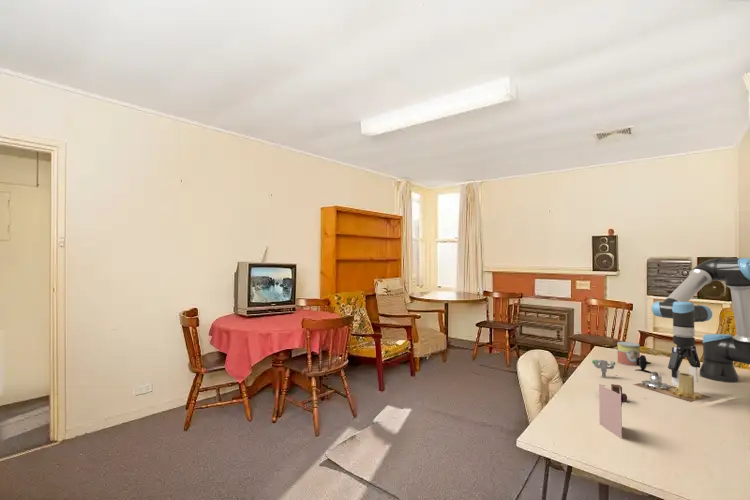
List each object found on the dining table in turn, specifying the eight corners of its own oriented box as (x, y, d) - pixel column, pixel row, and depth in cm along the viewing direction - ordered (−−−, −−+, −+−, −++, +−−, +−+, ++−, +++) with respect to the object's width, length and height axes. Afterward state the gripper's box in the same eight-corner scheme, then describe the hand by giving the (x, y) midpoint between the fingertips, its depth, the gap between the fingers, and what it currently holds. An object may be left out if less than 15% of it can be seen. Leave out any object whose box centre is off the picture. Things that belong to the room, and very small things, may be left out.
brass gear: (678, 389, 172) (677, 370, 172) (707, 397, 161) (706, 376, 162) (664, 392, 167) (663, 372, 168) (692, 400, 157) (692, 379, 158)
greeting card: (624, 439, 125) (624, 395, 125) (599, 434, 129) (598, 391, 129) (623, 427, 135) (622, 386, 135) (599, 422, 139) (599, 382, 139)
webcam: (634, 370, 207) (634, 352, 207) (651, 372, 202) (650, 354, 203) (634, 373, 200) (634, 355, 201) (651, 376, 196) (651, 357, 196)
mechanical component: (616, 381, 187) (615, 362, 187) (594, 380, 189) (594, 360, 189) (613, 379, 189) (613, 360, 190) (592, 378, 192) (591, 359, 192)
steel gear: (650, 381, 183) (650, 371, 183) (675, 388, 172) (675, 377, 173) (636, 384, 178) (636, 373, 179) (661, 391, 168) (661, 380, 168)
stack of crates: (631, 397, 166) (631, 382, 167) (640, 409, 153) (639, 392, 153) (594, 392, 173) (593, 377, 173) (598, 403, 159) (598, 387, 159)
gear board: (652, 383, 184) (652, 366, 184) (711, 400, 162) (711, 381, 162) (632, 387, 178) (632, 370, 178) (690, 405, 156) (690, 385, 156)
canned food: (623, 365, 217) (622, 345, 217) (614, 360, 228) (613, 341, 228) (644, 366, 215) (643, 346, 215) (633, 361, 226) (633, 342, 226)
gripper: (676, 339, 157) (677, 389, 156) (709, 335, 167) (710, 382, 166) (657, 336, 164) (658, 383, 163) (690, 332, 174) (691, 377, 173)
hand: (684, 383), depth 165 cm, fingers open, 13 cm apart
